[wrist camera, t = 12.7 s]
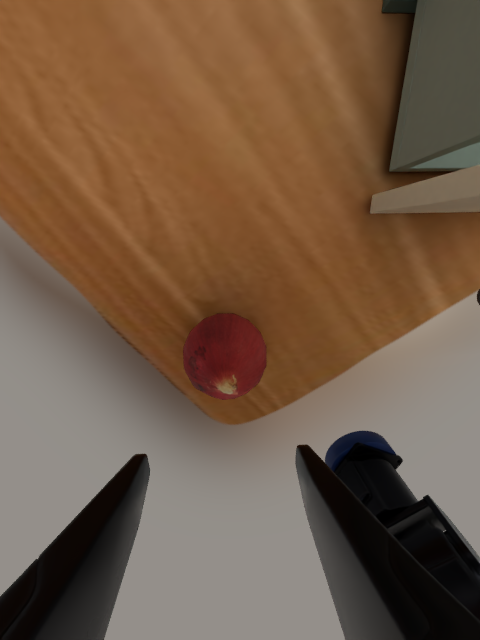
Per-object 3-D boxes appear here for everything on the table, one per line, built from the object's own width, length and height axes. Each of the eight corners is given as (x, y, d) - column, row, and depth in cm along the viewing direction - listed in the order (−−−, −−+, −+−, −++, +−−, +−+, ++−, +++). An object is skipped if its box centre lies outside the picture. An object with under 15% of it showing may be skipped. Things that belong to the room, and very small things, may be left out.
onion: (209, 373, 21) (199, 447, 14) (179, 318, 20) (148, 369, 12) (269, 349, 21) (292, 413, 13) (244, 290, 19) (254, 326, 12)
